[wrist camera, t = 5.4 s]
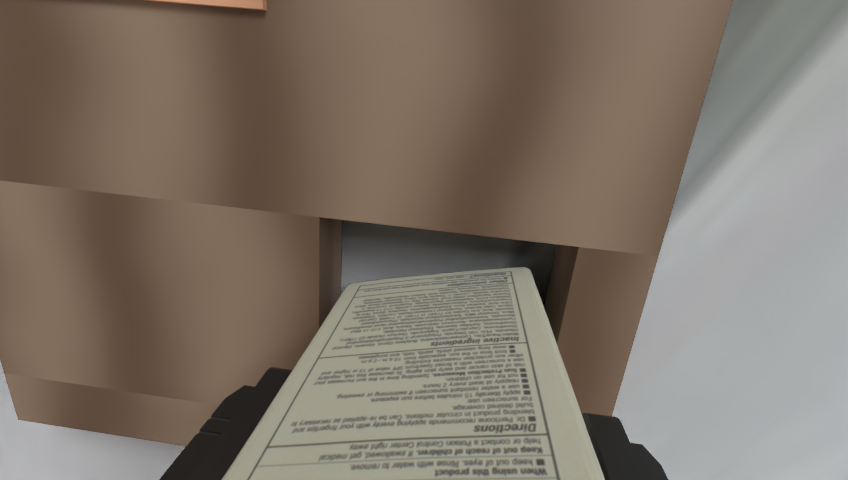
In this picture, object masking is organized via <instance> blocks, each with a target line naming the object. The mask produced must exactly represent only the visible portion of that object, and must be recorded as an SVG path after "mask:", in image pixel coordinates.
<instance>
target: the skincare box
mask: <svg viewBox="0 0 848 480" xmlns="http://www.w3.org/2000/svg"><path fill="white" fill-rule="evenodd" d="M222 480H605V478H604V475H603V473H602V470H601V467H600V464H599V461H598V459H597V456H596V453H595V451H594V448H593V445H592V443H591V440H590V437H589V434H588V431H587V429H586V426H585V423H584V420H583V417H582V414H581V411H580V408H579V405H578V402H577V399H576V397H575V394H574V391H573V388H572V385H571V383H570V380H569V377H568V374H567V371H566V369H565V366H564V363H563V360H562V358H561V355H560V352H559V349H558V346H557V343H556V340H555V337H554V335H553V332H552V329H551V326H550V323H549V320H548V317H547V314H546V312H545V309H544V306H543V303H542V300H541V297H540V295H539V292H538V289H537V287H536V284H535V281H534V278H533V275H532V273H531V271H530V269H528V268H526V267H515V268H501V269H486V270H474V271H462V272H452V273H441V274H431V275H420V276H409V277H399V278H388V279H381V280H373V281H365V282H357V283H351V284H349V285H348V286H347V287H346V288H345V290H344V291H343V292H342V294H341V296H340V297H339V299H338V300H337V302H336V303H335V305H334V306H333V308H332V310H331V311H330V313H329V314H328V316H327V318H326V319H325V321H324V322H323V324H322V325H321V327H320V329H319V330H318V332H317V333H316V335H315V336H314V338H313V339H312V341H311V343H310V344H309V346H308V347H307V349H306V350H305V352H304V353H303V355H302V356H301V358H300V359H299V361H298V362H297V364H296V366H295V367H294V369H293V370H292V372H291V373H290V375H289V376H288V378H287V379H286V381H285V382H284V384H283V385H282V387H281V389H280V390H279V392H278V393H277V395H276V396H275V398H274V399H273V401H272V403H271V404H270V406H269V407H268V409H267V411H266V412H265V414H264V415H263V417H262V418H261V420H260V421H259V423H258V425H257V426H256V428H255V429H254V431H253V432H252V434H251V436H250V437H249V439H248V440H247V442H246V443H245V445H244V446H243V448H242V449H241V451H240V452H239V454H238V455H237V457H236V459H235V460H234V462H233V463H232V465H231V466H230V468H229V469H228V471H227V472H226V474H225V475H224V477H223V478H222Z"/></svg>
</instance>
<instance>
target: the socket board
mask: <svg viewBox="0 0 848 480" xmlns="http://www.w3.org/2000/svg"><path fill="white" fill-rule="evenodd" d="M732 2H733V0H0V360H1V363H2V367H3V370H4V374H5V377H6V380H7V384H8V387H9V390H10V394H11V397H12V401H13V404H14V407H15V411H16V414H17V417H18V420H24V421H30V422H36V423H43V424H49V425H56V426H62V427H68V428H75V429H81V430H87V431H94V432H100V433H106V434H113V435H119V436H126V437H132V438H138V439H145V440H151V441H157V442H164V443H170V444H177V445H183V446H187V445H188V444H189V442H190V441H191V440H192V439H193V437H194V436H195V435H196V434H198V433H199V431H200V429H201V427H202V426H203V425H204V424H205V422H206V421H207V420H208V419H210V418H211V415H212V414H213V413H214V411H215V410H216V409H217V408H218V406H219V405H220V404H221V403H222V401H223V400H224V399H225V398H226V397H228V396H229V395H231V394H232V393H234V392H235V391H237V390H238V389H240V388H241V387H243V386H244V385H247V386H253V387H255V386H256V385H257V383H258V382H259V380H260V379H261V378H262V376H263V375H264V374H265V372H266V371H267V370H268V369H269V368H270V367H275V368H282V369H289V370H293V369H294V367H295V366H296V364H297V362H298V361H299V359H300V358H301V356H302V355H303V353H304V352H305V350H306V349H307V347H308V346H309V344H310V343H311V341H312V339H313V338H314V336H315V335H316V333H317V332H318V330H319V329H320V327H321V325H322V324H323V322H324V321H325V319H326V318H327V316H328V314H329V313H330V311H331V310H332V308H333V306H334V305H335V303H336V302H337V300H338V299H339V297H340V296H341V269H342V223H343V220H348V221H357V222H365V223H374V224H383V225H392V226H400V227H409V228H418V229H426V230H435V231H444V232H453V233H461V234H470V235H479V236H488V237H496V238H505V239H514V240H522V241H531V242H540V243H549V244H557V247H556V252H555V257H554V262H553V267H552V271H551V276H550V281H549V286H548V291H547V296H546V301H545V306H544V309H545V312H546V314H547V317H548V320H549V323H550V326H551V329H552V332H553V335H554V337H555V340H556V343H557V346H558V349H559V352H560V355H561V358H562V360H563V363H564V366H565V369H566V371H567V374H568V377H569V380H570V383H571V385H572V388H573V391H574V394H575V397H576V399H577V402H578V405H579V408H580V411H581V414H583V413H591V414H598V415H605V416H612V413H613V409H614V406H615V403H616V399H617V396H618V392H619V389H620V386H621V382H622V379H623V375H624V372H625V368H626V365H627V362H628V358H629V355H630V351H631V348H632V344H633V341H634V338H635V334H636V331H637V327H638V324H639V321H640V317H641V314H642V310H643V307H644V303H645V300H646V297H647V293H648V290H649V286H650V283H651V279H652V276H653V273H654V269H655V266H656V262H657V259H658V255H659V252H660V249H661V245H662V242H663V238H664V235H665V232H666V228H667V225H668V221H669V218H670V214H671V211H672V208H673V204H674V201H675V197H676V194H677V190H678V187H679V184H680V180H681V177H682V173H683V170H684V167H685V163H686V160H687V156H688V153H689V149H690V146H691V143H692V139H693V136H694V132H695V129H696V125H697V122H698V119H699V115H700V112H701V108H702V105H703V102H704V98H705V95H706V91H707V88H708V84H709V81H710V78H711V74H712V71H713V67H714V64H715V60H716V57H717V54H718V50H719V47H720V43H721V40H722V36H723V33H724V30H725V26H726V23H727V19H728V16H729V13H730V9H731V6H732Z"/></svg>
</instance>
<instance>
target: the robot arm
mask: <svg viewBox="0 0 848 480" xmlns="http://www.w3.org/2000/svg"><path fill="white" fill-rule="evenodd" d="M291 372H292V370H289V369H282V368H275V367H270V368H269V369H268V370H267V371H266V372H265V374H264V375H263V376H262V378H261V379H260V380H259V382H258V383H257V385H256V386H255V387H253V386H247V385H244V386H243V387H241V388H240V389H238V390H237V391H235V392H234V393H232V394H231V395H229V396H228V397H226V398H225V399H224V400H223V401H222V403H221V404H220V405H219V406H218V408H217V409H216V410H215V411H214V413H213V414H212V415H211V418H210V419H208V420H207V421H206V422H205V424H204V425H203V426H202V427H201V429H200V431H199V433H198V434H196V435H195V436H194V437H193V439H192V440H191V441H190V442H189V444H188V445H187V446H186V447H185V449H184V450H183V451H182V452H181V454H180V455H179V456H178V457H177V459H176V460H175V461H174V462H173V464H172V465H171V466H170V467H169V469H168V470H167V471H166V472H165V473H164V475H163V476H162V477H161V478H160V480H222V478H223V477H224V475H225V474H226V472H227V471H228V469H229V468H230V466H231V465H232V463H233V462H234V460H235V459H236V457H237V455H238V454H239V452H240V451H241V449H242V448H243V446H244V445H245V443H246V442H247V440H248V439H249V437H250V436H251V434H252V432H253V431H254V429H255V428H256V426H257V425H258V423H259V421H260V420H261V418H262V417H263V415H264V414H265V412H266V411H267V409H268V407H269V406H270V404H271V403H272V401H273V399H274V398H275V396H276V395H277V393H278V392H279V390H280V389H281V387H282V385H283V384H284V382H285V381H286V379H287V378H288V376H289V375H290V373H291ZM582 417H583V420H584V423H585V426H586V429H587V431H588V434H589V437H590V440H591V443H592V445H593V448H594V451H595V453H596V456H597V459H598V461H599V464H600V467H601V470H602V473H603V475H604V478H605V480H668V479H667V477H666V474H665V472H664V470H663V468H662V466H661V465H660V464H659V462H658V461H657V460H656V459H655V458H654V457H653V456H652V455H651V454H650V453H649V452H648V451H647V449H646V448H645V447H644V446H643V445H641V444H634V443H630V442H629V440H628V437H627V435H626V433H625V430H624V428H623V426H622V423H621V422H620V420H619V419H618V418H617V417H612V416H605V415H598V414H591V413H583V414H582Z"/></svg>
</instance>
